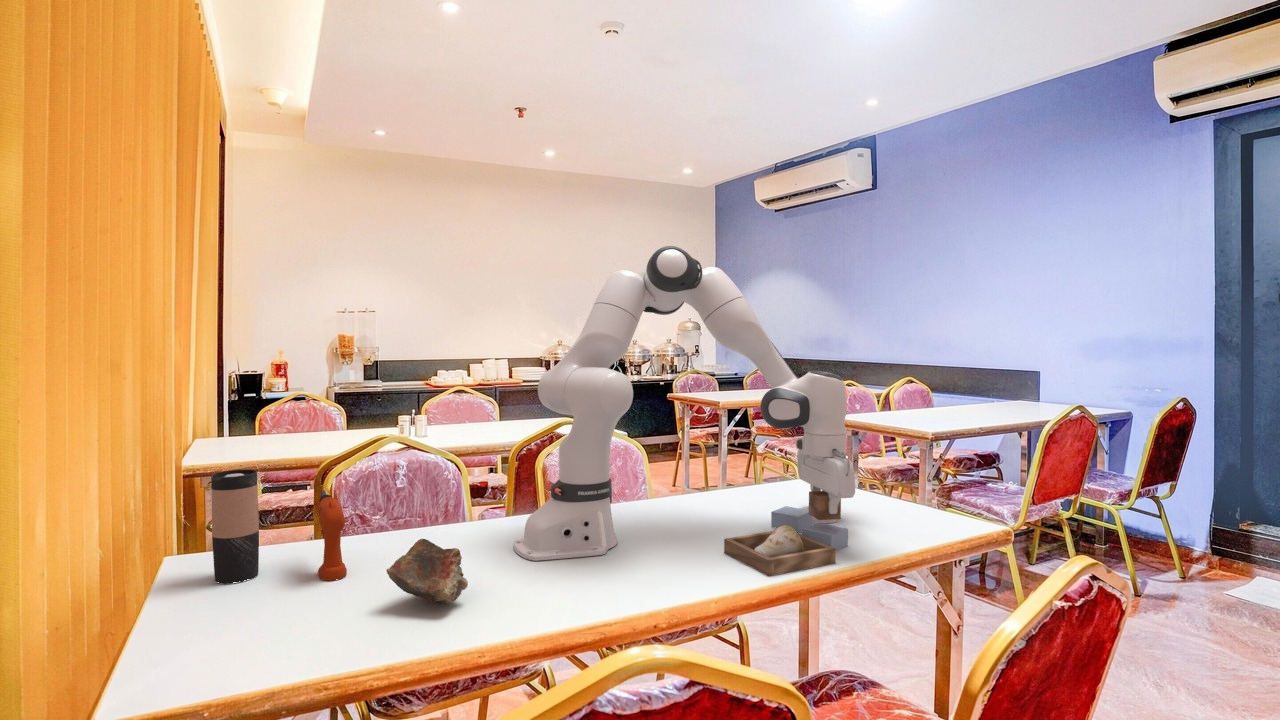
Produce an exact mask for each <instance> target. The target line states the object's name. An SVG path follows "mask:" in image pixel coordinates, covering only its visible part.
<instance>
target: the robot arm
mask: <svg viewBox="0 0 1280 720" xmlns="http://www.w3.org/2000/svg"><path fill="white" fill-rule="evenodd" d="M684 304H687V305H689V306H691V308H693V309H694V310H695V312H697V313H698V316H699V318H700V319H701V320H702V322H703V324H704V326H705V327H706V329H707V330H708V332H709V333H710V334H711V336H712V337H713V338H714V339H715V340H716V341H717V342H718V343H719V344H720V345H721V346H722V347H724V348H726V349H729V350H732V351H734V352H737V353H738V354H741V355H742V356H744V357H746V358H747V359H748V360H750V361H751V362H752V363H753V364H754V365H755V367H756V368H757V370H758V371H759V372H760V373H761V375H762V377H763V378H764V379H765V381H766V382H767V384H768V385H769V387H770V388H771V389H769V390H768V391H767V392H766V393H765V394H764V395H763V396H762V398H761V400H760V407H759V408H760V414H761V416H762V418H763V420H764V422H766V424H767V425H769V426H770V427H772V428H775V429H778V430H789V429H792V428H797V427H801V428H803V432H804V433H803V436H802V437H800V438H797V439H796V440H795V447H796V449H797V455H796V459H797V460H796V462H797V463H796V464H797V465H796V466H797V474H798V477H799V479H800V480H801V481H803V482H805V483H807V484H809V485H810V488H809V489H810V491H822V490H823V491H825V492H827V493H828V497H829V498H830V500H829V504H827V512H828V513H830V514H836V513H837V509H838V504H839V501H840V499H841V500H842V499H852V498H854V496H855V494H856V478H855V469H854V465H853V463H852V461H851V460H850V459H849V457H848V453H847V428H846V425H845V424H846V423H845V420H846V416H847V414H848V413H847V410H848V409H847V408H848V406H847V392H846V391H847V389H846V384H845V382H844V379H843V378H842V377H841V376H840V375H838V374H836V373H833V372H831V371H830V372H829V371H824V370H823V371H822V370H810V371H807V373H806V374H804V375H802V376H801V377H799V376H797V374H796V373H795V372H794V370H793V369H792V368H791V367H790V365H789V364H788V363H787V361H786V360H785V358H784V357H783V356H782V354H781V353H780V351H779V350H778V349H777V347H776V346H775V344H774V343H773V342H772V340H771V339H770V338H769V336H768V334H767V333H766V331H765V329H764V328H763V326H762V324H761V323H760V321H759V320H758V318H757V316H756V313H755V311H753V309H752V307H751V305H750V304H749V302H748V301H747V299H746V297H745V295H743V293H742V292H741V290H740V289H739V287H738V286H737V285H736V284H735V283H734V281H733V280H732V279H731V278H730V277H729V275H728V274H727V273H726V272H724V270H722V269H721V268H719V267H717V266H708V267H704V268H702V264H701V263H700V261H698V260H697V259H695V258H694V257H692V256H691V255H690V254H689V253H688V252H687V251H685V250H684V249H682V248H680V247H679V246H678V247H677V246H674V245H667V246H662V247H661V248H659V249H657V250H656V251H655V252H653V254H652V255H651V256H650V258H649V260H648V261H647V265H646V269H645V271H643V272H634V271H632V270H627V269H620V270H616V271H615V272H613V273H612V274H611V275H610V276H609V277H608V278H607V280H606V281H605V283H604V285H603V286H602V288H601V290H600V291H599V293H598V295H597V297H596V298H595V300H594V303H593V304H592V305H593V306H592V308H591V310H590V312H589V315H588V317H587V319H586V322H585V323H584V326H583V328H582V330H581V332H580V334H579V336H578V337H577V338H576V340H575V342H574V343H573V344H572V346H571V347H570V348H569V350H567V352H566V353H565V355H564V356H563V357H562V358H561V359H560V360H559V361H558V362H557V364H555V365H554V366H552V368H549V369H548V370H546V371H545V372H544V373H543V374H542V376H541V377H540V379H539V380H538V385H537V395H538V399H539V401H540V402H541V404H542V405H543V406H544V407H545V408H546V409H549V410H551V411H552V412H555V413H557V414H561V415H564V416H565V415H567V416H572V417H573V421H572V426H571V429H570V432H569V433H568V435H567V436H566V437H565V438H564V439H562V440H561V442H560V444H559V448H558V461H559V462H558V465H559V466H558V467H559V468H558V469H559V471H558V474H559V476H558V477H559V479H558V480H557V481H555V482H552V481H550V480H547V481H545V482H544V483H543V489H544V490H546V491H548V492H550V498H549V499H548V500H547V501H546V502H545V503H543V504H542V505H541V506H540V507H539V508H537V509H536V510H535V511H534V512H533V513H532V514H530V515H529V516H528V518H527V520H526V523H525V527H524V533H523V537H519V538H517V539H515V540H514V542H513V550H514V551H515V552H516V554H518V555H519V556H520V557H522V558H524V559H526V560H530V561H534V562H535V561H549V560H559V559H560V560H561V559H572V558H583V557H594V556H602V555H605V554H606V553H607V552H608V550H609V549H612V548H613V547H615V546H616V545H618V539H617V536H616V531H615V528H614V522H613V516H612V515H613V514H612V508H611V507H612V505H611V504H612V500H613V498H612V497H613V484H612V478H611V477H610V476H611V475H610V473H611V471H610V465H611V464H610V461H611V460H610V459H611V458H610V457H611V444H612V439H613V436H614V431H615V429H616V426H617V425H618V422H619V420H620V419H621V418H622V417H623V416H624V415H625V414H626V413H627V412H628V410H629V409H630V408H631V406H632V404H633V399H634V389H633V388H634V387H633V384H632V382H631V380H630V378H629V377H628V376H627V375H626V374H624V373H622V372H620V371H618V370H614V369H611V366H612V365H614V364H615V363H616V362H618V361H619V360H621V359H622V358H623V357H624V356H625V355H626V354H627V353H628V350H629V347H630V345H631V343H632V340H633V337H634V335H635V333H636V331H637V328H638V325H639V322H640V320H641V317H642V315H643V312H644V313H649V314H650V313H651V314H652V313H653V314H655V315H660V316H667V315H671V314H674V313H676V312H677V311H678V310H680V309H681V308H682V306H683V305H684Z"/></svg>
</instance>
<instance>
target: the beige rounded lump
mask: <svg viewBox="0 0 1280 720" xmlns="http://www.w3.org/2000/svg"><path fill="white" fill-rule="evenodd" d="M772 531H773V532H772V533H771V535H770V536H769V537H768V539H767V540H766V541H765V542H764V543H763V544H761V545H759V546H758V547H756V548H755V549H754V550H755V551H757V552H759V553H761V554H763V555H765V556H768V557H770V558H771V557H777V556H782V555H788V554H793V553H799V552H804V546H803V543H802V540H801V538H800V537H799V535H798V534H797V532H796V531H795V530H794V529H793V528H792V527H790V526H787V525H784V526H780V527H778V528H774V530H772Z"/></svg>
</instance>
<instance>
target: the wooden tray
mask: <svg viewBox="0 0 1280 720" xmlns="http://www.w3.org/2000/svg"><path fill="white" fill-rule="evenodd" d="M773 531H774V530H771V531H765V532H758V533H751V534H745V535H739V536H734V537H733V536H732V537H727V538H724V539H723V542H724V543H723V549H724V550H723V553H724V554H725V555H727V556H728V557H729V556H730V557H731V558H733V559H735V560H737V561H738V562H741V563H742V564H745V565H747V566H748V567H751V568H752V569H754V570H756V571H758V572H760V573H762V574H763V575H765V576H768V577H772V576H776V575H782V574H787V573H788V574H789V573H793V572H797V571H802V570H808V569H813V568H818V567H822V566H827V565H828V566H829V565H833V564H836V563H837V561H836V560H837V558H836V554H837V553H836V552H837V551H836V548H834V547H831V546H829V545H826V544H824V543H821V542H819V541H816V540H814V539H811V538H809V537H806V536H804V535H802V533H801V534H800V532H799V533H797V534H798V535H799V537H800V538H801V540H802V543H803V546H804V552H799V553H793V554H788V555H782V556H777V557H771V558H770V557H768V556H765V555H763V554H761V553H759V552H757V551H755V550H754V549H755V548H756V547H758V546H759V545H761V544H763V543H764V542H765V541H766V540H767V539H768V537H769V536H770V535H771V533H772V532H773ZM812 567H813V568H812Z"/></svg>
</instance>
